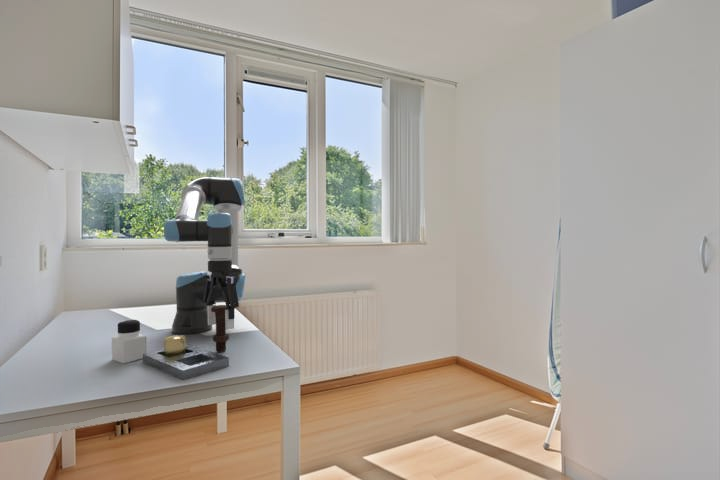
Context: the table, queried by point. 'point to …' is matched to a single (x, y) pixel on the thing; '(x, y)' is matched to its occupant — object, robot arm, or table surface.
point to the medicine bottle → (128, 342)
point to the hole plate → (184, 358)
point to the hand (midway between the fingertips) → (220, 326)
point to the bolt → (220, 328)
